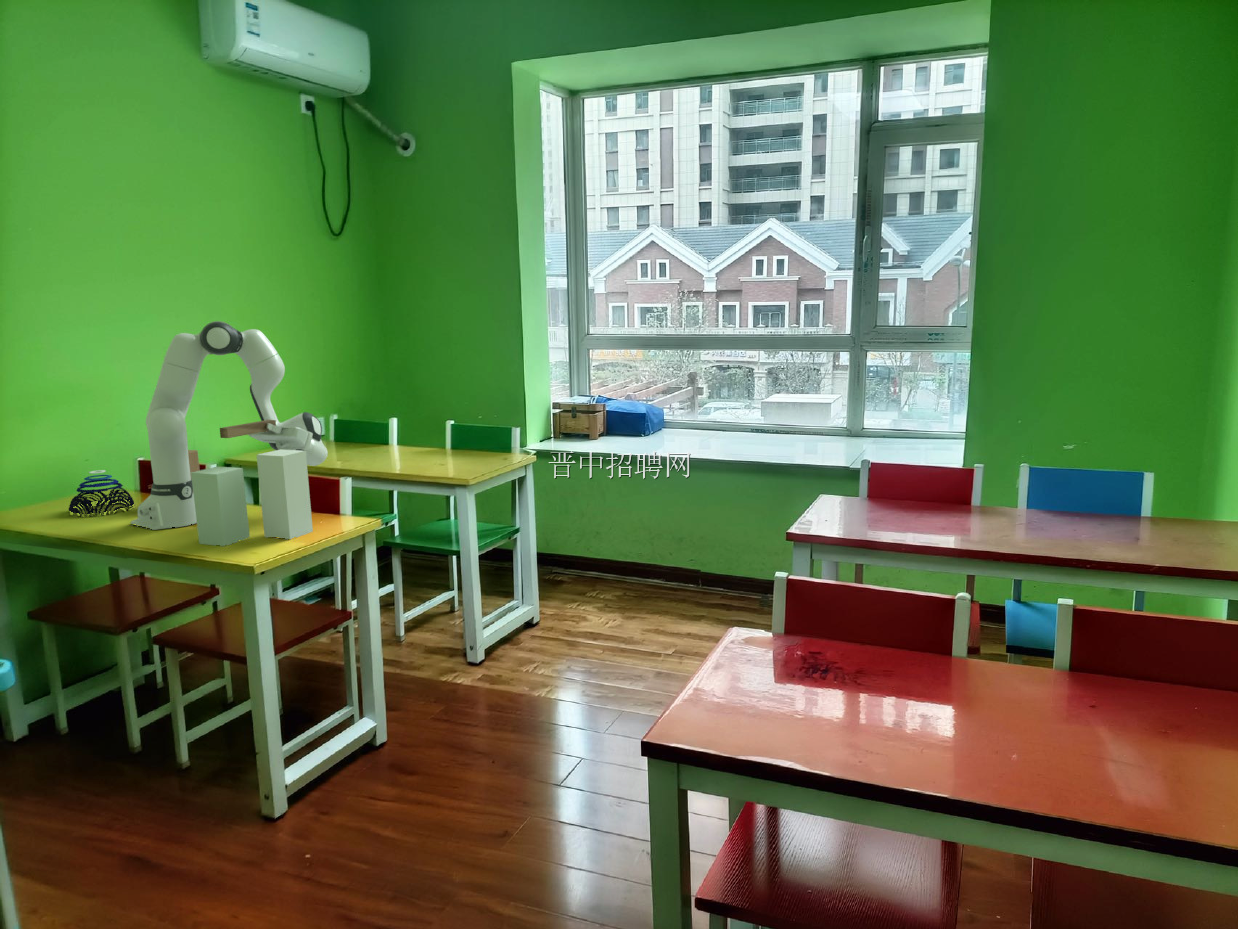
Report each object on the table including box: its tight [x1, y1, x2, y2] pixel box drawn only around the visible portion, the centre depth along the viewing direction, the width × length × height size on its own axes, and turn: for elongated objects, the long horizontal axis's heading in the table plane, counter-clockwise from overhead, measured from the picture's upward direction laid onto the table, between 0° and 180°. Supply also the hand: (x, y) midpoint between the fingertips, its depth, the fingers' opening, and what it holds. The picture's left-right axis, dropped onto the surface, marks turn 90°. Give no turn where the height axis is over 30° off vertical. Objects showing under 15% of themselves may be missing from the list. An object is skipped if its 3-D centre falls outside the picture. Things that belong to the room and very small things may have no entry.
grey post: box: [256, 449, 314, 540], centre depth 262 cm, size 10×10×26 cm
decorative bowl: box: [68, 469, 135, 515], centre depth 301 cm, size 20×20×14 cm
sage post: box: [191, 466, 251, 547], centre depth 257 cm, size 10×10×22 cm
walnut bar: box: [219, 420, 276, 439], centre depth 265 cm, size 3×20×3 cm, turn 159°
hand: (261, 425), depth 269 cm, fingers closed on walnut bar, 3 cm apart
